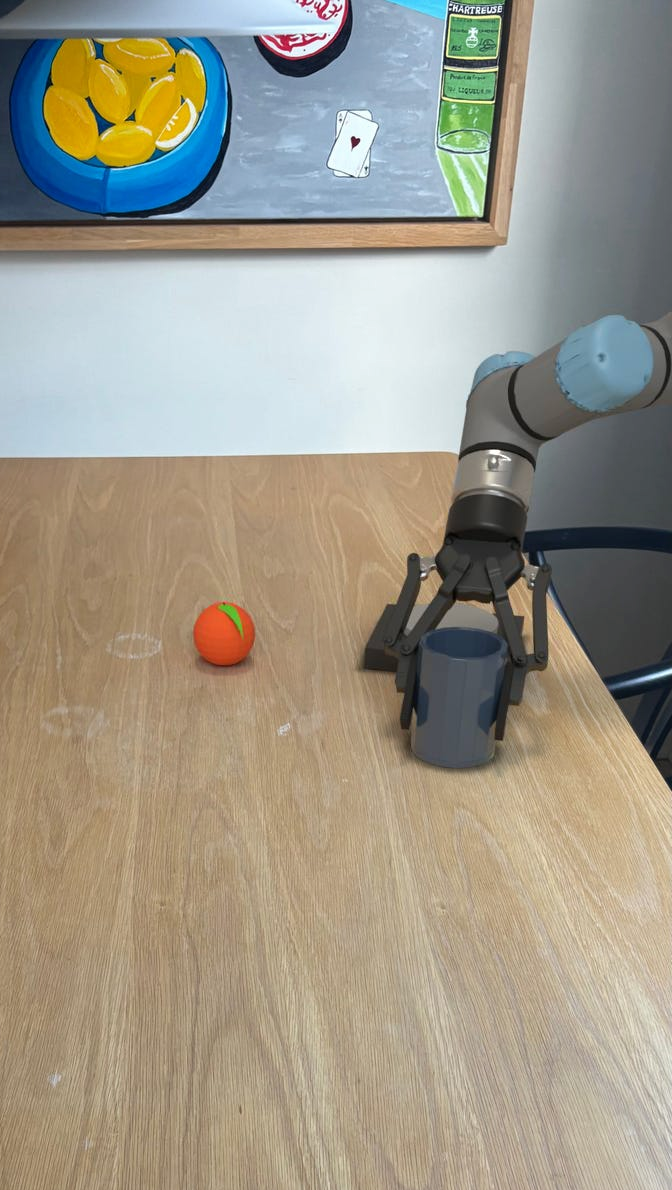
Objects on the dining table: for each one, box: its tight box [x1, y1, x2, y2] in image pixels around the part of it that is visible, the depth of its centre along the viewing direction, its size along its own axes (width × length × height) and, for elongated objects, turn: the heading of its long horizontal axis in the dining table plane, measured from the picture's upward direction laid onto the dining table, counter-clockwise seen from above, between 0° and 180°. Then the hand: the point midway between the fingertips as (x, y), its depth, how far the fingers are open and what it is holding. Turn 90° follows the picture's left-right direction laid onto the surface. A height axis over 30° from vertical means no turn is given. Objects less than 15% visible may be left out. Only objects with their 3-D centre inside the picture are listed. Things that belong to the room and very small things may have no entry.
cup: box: [410, 627, 508, 769], centre depth 116 cm, size 8×8×11 cm
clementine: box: [192, 601, 256, 666], centre depth 136 cm, size 8×7×7 cm
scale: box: [363, 602, 525, 673], centre depth 139 cm, size 16×14×4 cm
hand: (451, 730), depth 114 cm, fingers closed on cup, 8 cm apart
